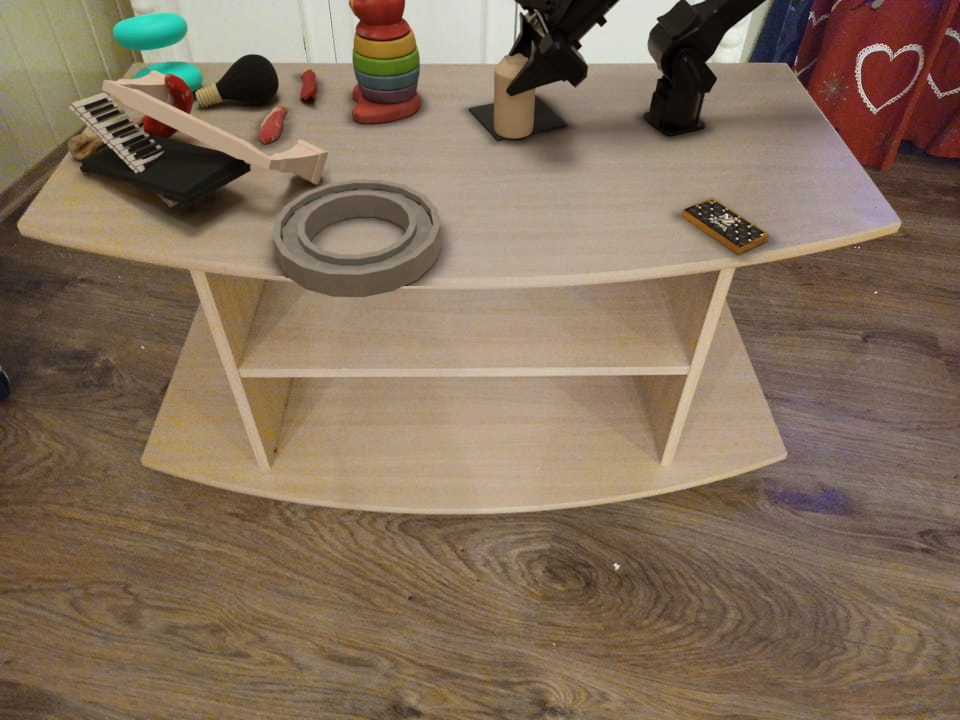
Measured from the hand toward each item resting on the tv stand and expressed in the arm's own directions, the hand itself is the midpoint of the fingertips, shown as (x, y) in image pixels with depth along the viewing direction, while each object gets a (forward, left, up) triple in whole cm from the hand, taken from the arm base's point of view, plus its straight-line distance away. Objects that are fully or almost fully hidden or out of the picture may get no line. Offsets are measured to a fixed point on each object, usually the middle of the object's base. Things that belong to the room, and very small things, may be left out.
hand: (504, 83), depth 97 cm
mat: (-4, -3, -7) cm, 8 cm away
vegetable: (+45, -17, -7) cm, 49 cm away
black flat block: (-11, +32, -6) cm, 34 cm away
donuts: (+36, -31, -1) cm, 47 cm away
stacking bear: (+12, -14, -7) cm, 20 cm away
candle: (-1, +1, -7) cm, 7 cm away
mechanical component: (+26, +18, -7) cm, 32 cm away
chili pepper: (+22, -22, -5) cm, 32 cm away
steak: (+27, -13, -6) cm, 31 cm away
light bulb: (+32, -23, -7) cm, 40 cm away
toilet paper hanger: (+39, -3, -2) cm, 39 cm away
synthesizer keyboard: (+44, -2, +1) cm, 44 cm away
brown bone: (+49, -21, -5) cm, 54 cm away
